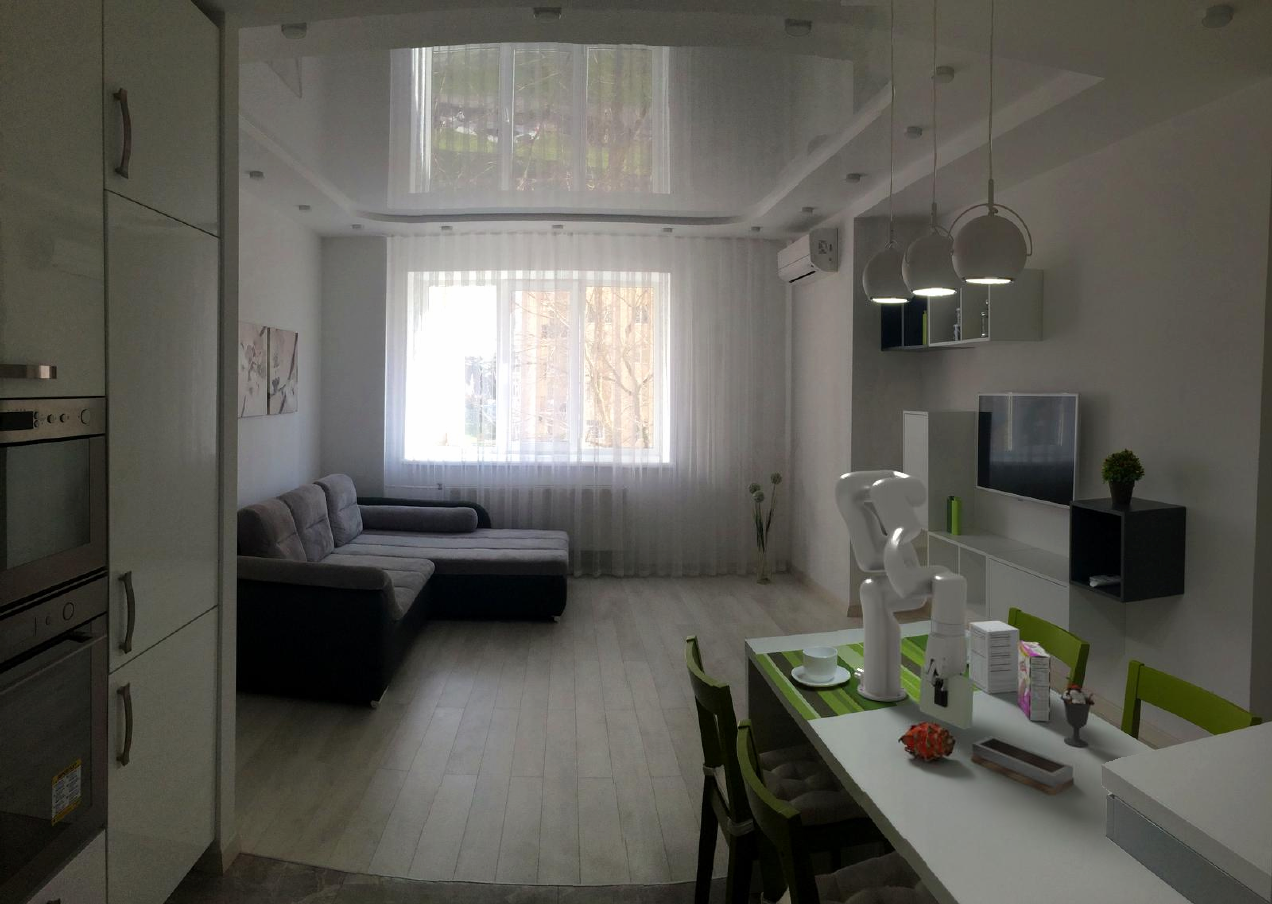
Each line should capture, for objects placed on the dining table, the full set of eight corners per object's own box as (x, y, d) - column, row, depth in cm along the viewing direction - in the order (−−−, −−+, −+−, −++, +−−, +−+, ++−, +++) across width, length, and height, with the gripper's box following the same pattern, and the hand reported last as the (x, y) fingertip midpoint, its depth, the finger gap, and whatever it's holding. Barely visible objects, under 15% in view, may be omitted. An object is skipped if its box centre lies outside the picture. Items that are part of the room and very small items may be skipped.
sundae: (1052, 737, 185) (1054, 673, 184) (1080, 735, 186) (1082, 672, 184) (1070, 750, 178) (1072, 684, 177) (1099, 748, 179) (1101, 682, 178)
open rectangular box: (970, 760, 174) (971, 744, 174) (993, 751, 179) (993, 735, 178) (1051, 794, 159) (1052, 776, 159) (1073, 783, 163) (1074, 766, 163)
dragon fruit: (960, 769, 174) (902, 771, 177) (954, 734, 180) (898, 736, 184) (958, 748, 169) (898, 750, 172) (951, 712, 175) (894, 715, 178)
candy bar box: (1016, 703, 205) (1017, 640, 204) (1037, 704, 204) (1038, 641, 203) (1028, 721, 194) (1029, 655, 193) (1050, 722, 193) (1052, 656, 192)
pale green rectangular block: (919, 710, 192) (920, 666, 191) (927, 707, 194) (929, 663, 193) (963, 729, 182) (965, 682, 181) (972, 726, 184) (973, 679, 182)
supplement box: (1020, 692, 213) (1021, 629, 211) (988, 694, 211) (988, 631, 210) (998, 679, 222) (999, 619, 221) (967, 681, 221) (968, 621, 219)
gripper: (956, 616, 193) (953, 690, 195) (911, 629, 184) (909, 706, 186) (984, 625, 187) (981, 700, 189) (939, 638, 178) (937, 717, 180)
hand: (945, 702), depth 187 cm, fingers closed on pale green rectangular block, 3 cm apart
